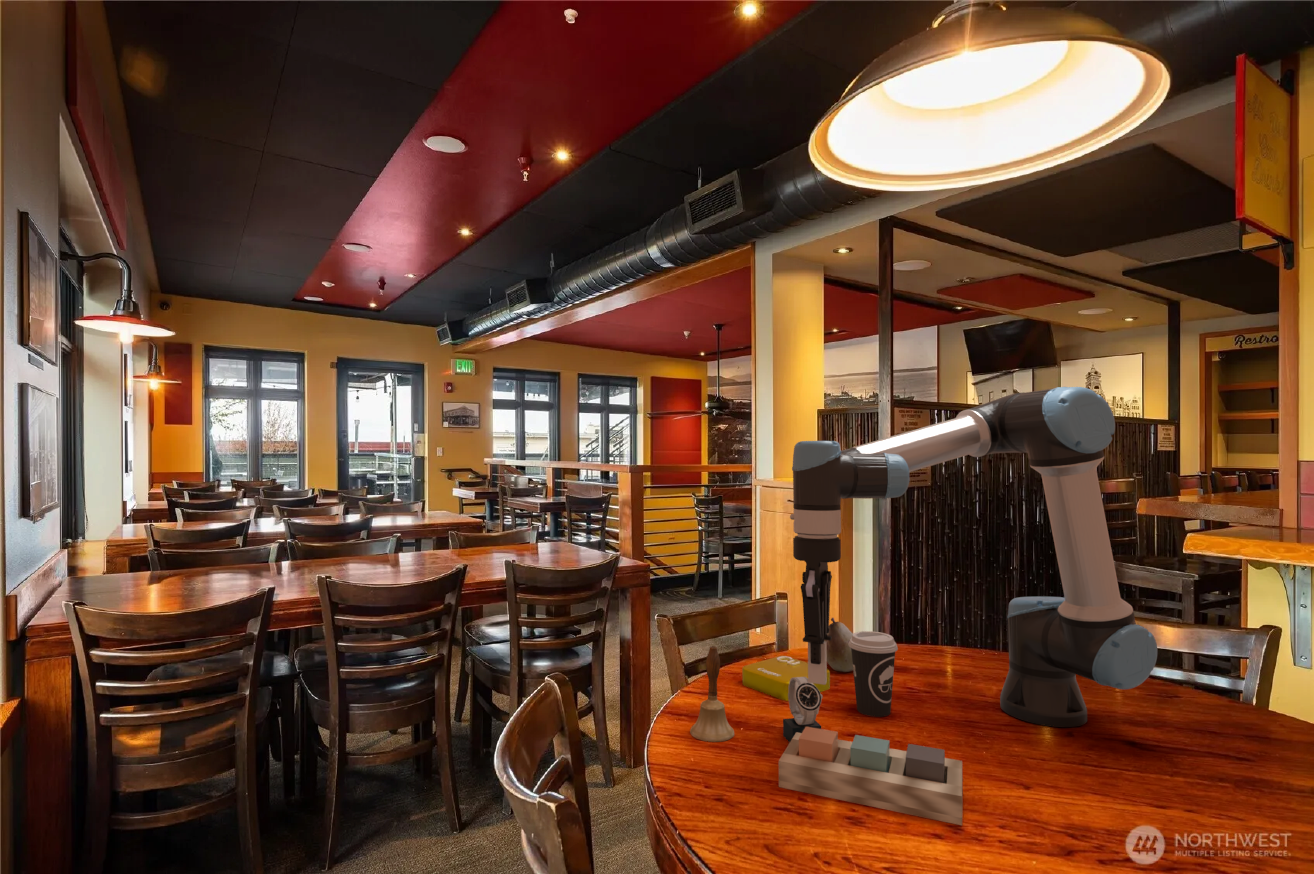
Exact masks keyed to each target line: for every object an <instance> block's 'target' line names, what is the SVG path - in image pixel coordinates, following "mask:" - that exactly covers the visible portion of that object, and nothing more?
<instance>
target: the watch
mask: <svg viewBox="0 0 1314 874" xmlns="http://www.w3.org/2000/svg"><path fill="white" fill-rule="evenodd" d="M788 689H789V690H788V691H789V693H788V699H789V701H788V705H789V706H788V707H789V711H790V714H791V715H792V717H793V718H792V717H791V718H783V719H782V730H783V732H782V733H783V735H782V736H783V738H784V739H785V740H786V741H787V740H788V741H787V742H788V744H789V743H790V742H791V740H792V738H793V737H794V735H795V734H796V732H798V733H802V732H803V730H804V729H805V727H812V728H818V729H822V725H821V724H820V723H819V722H818V721H817V720H816V719H817V715H818V714H819V710H820V706H821V704H822V699H823V697H824V696H823V694H821V693H822V692H820V691H819V690H818V688H817V687H816V686H815V685H814V684H813V683H809V682H808V678H806V677H794V678H791V679H790V682H789V688H788Z"/></svg>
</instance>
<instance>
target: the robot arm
mask: <svg viewBox="0 0 1314 874" xmlns="http://www.w3.org/2000/svg"><path fill="white" fill-rule="evenodd" d="M1115 432H1116V420H1115V416H1114V413H1113V411H1112V408H1111V407H1110V405H1109V403H1108V402H1107V401H1106V399H1105V398H1104V397H1103V396H1102V395H1100V394H1098V393H1096V391H1095V390H1092V389H1090V388H1088V387H1083V386H1060V387H1059V386H1057V387H1054V388H1047V389H1040V390H1034V391H1033V390H1032V391H1026V392H1016V393H1012V394H1008V395H1005V396H1002V397H999V398H996V399H993V400H991V401H988V402H985V403H982V404H980V405H977V406H975V407H974V406H973V407H970V408H968V409H964V410H962V411H960V412H959V413H958V414H957V415H956V417H955V418H952V419H949V420H943V421H939V422H937V423H933V424H929V425H926V426H923V427H920V428H917V429H913V430H909V431H906V432H905V431H904V432H902V433H898V434H895V435H891V436H889V437H884V438H881V439H878V440H874V441H871V442H868V443H864V444H860V445H856V446H852V447H849V448H846V449H843V450H841V445H840V443H839V441H835V440H802V441H798V442H796V444H795V445H794V448H793V455H792V466H791V467H792V468H791V470H792V486H793V491H792V492H793V494H792V495H793V498H792V499H793V502H792V503H793V504H792V507H793V513H791V514H790V515H789V519H790V520H791V521H793V532H794V533H795V534H796V535H795V536H794V537H793V539H792V540H793V541H792V542H793V543H792V547H793V548H792V549H793V551H792V553H793V554H792V555H793V558H794V559H795V560H797V561H800V562H802V561H803V562H805V571H803V572H802V583H801V584H800V592H801V597H802V611H803V612H802V613H803V625H804V626H803V628H804V636H803V638H802V642H804V643H807V663H808V682H809V683H816V684H823V685H825V684H826V682H827V669H828V668H827V667H828V666H827V665H828V663H827V641H824V640H830V641H831V638H832V636H828V635H827V633H829V625H830V611H831V610H830V607H831V586H832V585H831V583H832V578H833V575H832V571H831V570H829V565H828V564H829V563H835V562H839V561H840V559H841V558H842V555H841V552H842V548H841V547H842V545H841V544H842V543H841V542H842V541H841V539H840V537H838V536H839V535H840V534H841V533H842V517H841V515H842V514H841V513H842V509H841V502H842V501H841V499H844V500H845V499H883V500H887V499H893V498H900V497H901V496H903V495H904V494H905V493H906V492H907V490H908V488H909V486H910V481H911V480H910V473H911V472H915V471H919V470H921V469H925V468H929V467H932V466H935V465H938V464H941V463H942V464H943V463H945V462H949V461H952V460H955V459H959V458H961V457H965V456H968V455H969V456H971V457H974V458H979V457H983V456H987V455H991V454H992V455H993V454H1008V453H1013V454H1014V453H1023V454H1027V457H1028V461H1029V466H1030V468H1031V469H1033V470H1035V471H1036V472H1037V473H1039V474H1040V475H1041V479H1042V486H1043V489H1044V490H1043V491H1044V495H1045V502H1046V507H1047V512H1048V518H1049V522H1050V527H1051V532H1052V538H1053V542H1054V543H1053V544H1054V549H1055V554H1056V559H1057V564H1058V570H1059V577H1060V580H1061V581H1060V582H1061V585H1062V590H1063V591H1062V592H1063V595H1064V596H1063V597H1061V596H1020V597H1014V598H1013V599H1011V600H1010V602H1009V603H1008V612H1007V613H1008V614H1007V617H1006V618H1007V637H1008V639H1007V641H1008V662H1009V663H1008V672H1007V675H1006V678H1005V680H1004V683H1003V687H1002V690H1001V692H1000V695H999V698H1000V700H999V704H1000V705H999V706H1000V709H1001V710H1002V711H1003V712H1005V713H1006V714H1008V715H1009V716H1011V717H1014V718H1016V719H1019V720H1021V721H1025V722H1028V723H1031V724H1036V725H1040V726H1041V725H1042V726H1047V727H1057V728H1075V727H1080V726H1083V725H1085V724H1087V722H1088V708H1087V706H1086V703H1085V700H1084V697H1083V695H1082V692H1081V689H1080V687H1079V684H1078V681H1077V676H1079V677H1083V678H1085V679H1089V680H1090V681H1093V682H1096V683H1097V684H1098V685H1101V686H1106V687H1107V686H1108V687H1111V688H1114V689H1118V690H1131V689H1134V688H1137V687H1138V686H1140V685H1142V684H1143V683H1144V682H1145V681H1146V680H1147V679H1148V678H1149V677H1150V674H1151V672H1153V671H1154V668H1155V666H1156V663H1157V659H1158V645H1157V640H1156V638H1155V636H1154V635H1153V633H1152V632H1150V631H1149V630H1148V629H1147V628H1145V627H1144V626H1142V625H1140V624H1137V623H1136V617H1135V613H1134V608H1133V606H1132V605H1131V604H1130V603H1129V602H1128V601H1126V600H1124V599H1123V598H1122V597H1121V593H1120V588H1119V583H1118V578H1117V571H1116V567H1115V561H1114V556H1113V550H1112V547H1111V546H1112V545H1111V541H1110V535H1109V531H1108V530H1109V529H1108V525H1107V520H1106V514H1105V509H1104V508H1105V507H1104V503H1103V499H1102V498H1103V497H1102V492H1101V489H1100V488H1101V487H1100V481H1099V477H1098V471H1097V468H1098V466H1100V464H1101V462H1103V460H1104V459H1105V453H1104V449H1106V448H1107V447H1108V446H1109V445H1110V444H1111V442H1112V440H1113V437H1112V436H1113V435H1114V434H1115ZM1076 675H1077V676H1076Z"/></svg>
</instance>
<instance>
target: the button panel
mask: <svg viewBox="0 0 1314 874" xmlns="http://www.w3.org/2000/svg"><path fill="white" fill-rule="evenodd" d="M801 734H802V733H798V732H796V734H795V735H794V737H793V738H792V740H791V742H790V743H789V742H788V745H787V747H786V748H785V750H784V752H783V753H782V754H781V756H780V758H779V759H778V787H779V788H782V789H786V790H792V791H795V792H796V791H797V792H801V793H805V794H811V795H816V796H821V797H825V798H829V799H835V800H840V801H843V802H844V801H845V802H848V803H853V804H859V805H864V806H868V807H873V808H877V809H883V810H888V811H892V812H896V813H901V814H905V815H910V816H916V817H920V818H925V819H929V820H934V821H940V822H944V823H949V824H954V825H959V826H963V796H964V794H963V793H964V792H963V788H964V787H963V786H964V785H963V782H964V781H963V760H959V759H954V758H948V757H945V783H940V782H934V781H929V780H924V779H918V778H913V777H908V776H906V753H907V750H901V749H895V748H890V767H889V771H888V773H886V772H881V771H876V770H870V769H865V768H860V767H854V766H851V754H850V747H851V745H852V742H853V741H851V740H849V741H848V740H843V739H838V755H837V758H836V760H835V762H834V763H833V762H828V761H823V760H817V759H812V758H807V757H801V756H799V737H800V735H801Z"/></svg>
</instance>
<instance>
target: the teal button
mask: <svg viewBox="0 0 1314 874" xmlns="http://www.w3.org/2000/svg"><path fill="white" fill-rule="evenodd" d="M851 742H852V745H851V747H850V754H851V766H854V767H860V768H865V769H870V770H876V771H881V772H886V773H888V771H889V767H890V749H891V748H890V744H891V743H890V740H888V739H882V738H876V737H870V736H864V735H858V734H855V735H854V738H853V741H851Z"/></svg>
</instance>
